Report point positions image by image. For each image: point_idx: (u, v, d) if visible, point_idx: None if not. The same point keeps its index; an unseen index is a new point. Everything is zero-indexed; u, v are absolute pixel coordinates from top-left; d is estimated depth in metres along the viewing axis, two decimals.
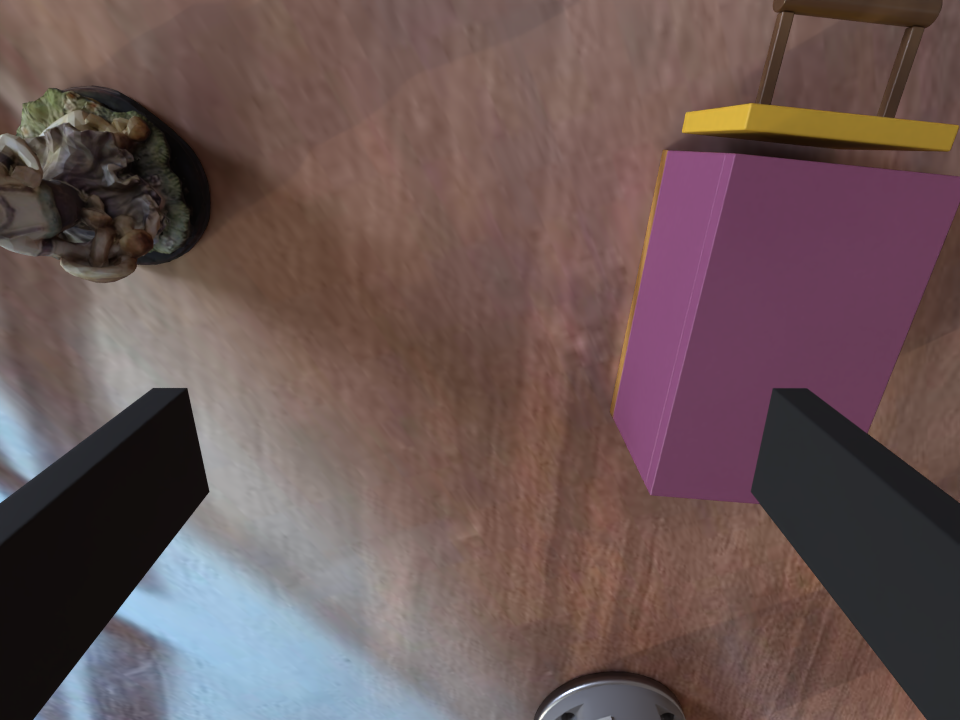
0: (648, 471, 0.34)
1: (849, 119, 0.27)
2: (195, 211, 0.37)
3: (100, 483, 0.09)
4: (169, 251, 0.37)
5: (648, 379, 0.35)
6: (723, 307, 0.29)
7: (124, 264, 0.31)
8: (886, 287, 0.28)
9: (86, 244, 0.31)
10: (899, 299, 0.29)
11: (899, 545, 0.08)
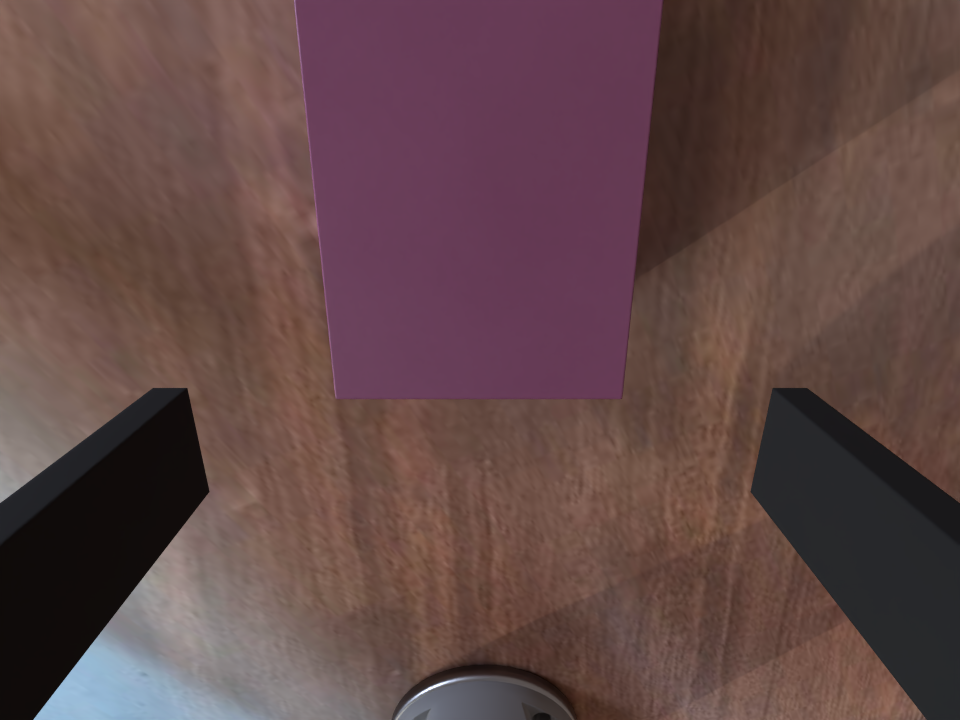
0: None
1: None
2: None
3: (100, 483, 0.09)
4: None
5: None
6: (343, 66, 0.18)
7: None
8: None
9: None
10: (624, 19, 0.17)
11: (899, 545, 0.08)
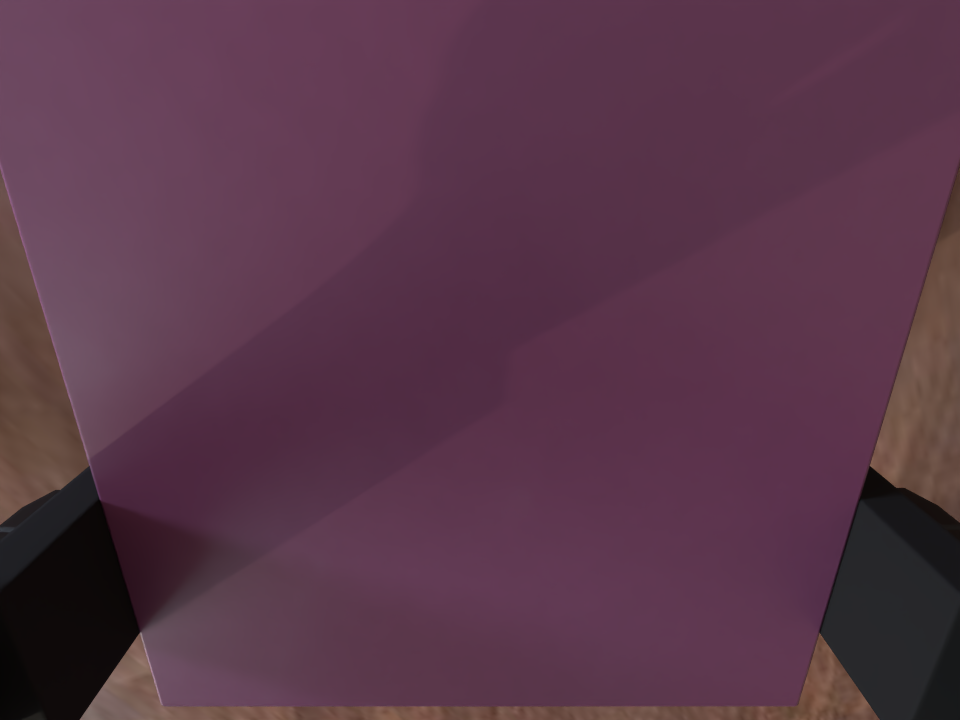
0: None
1: None
2: None
3: None
4: None
5: None
6: None
7: None
8: None
9: None
10: None
11: None
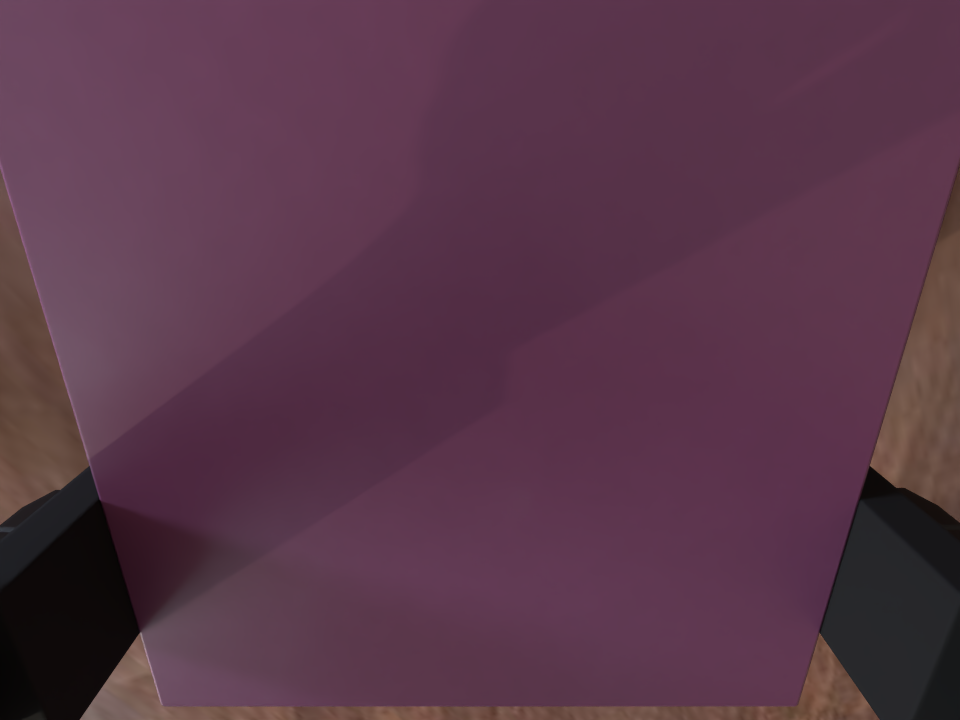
0: None
1: None
2: None
3: None
4: None
5: None
6: None
7: None
8: None
9: None
10: None
11: None
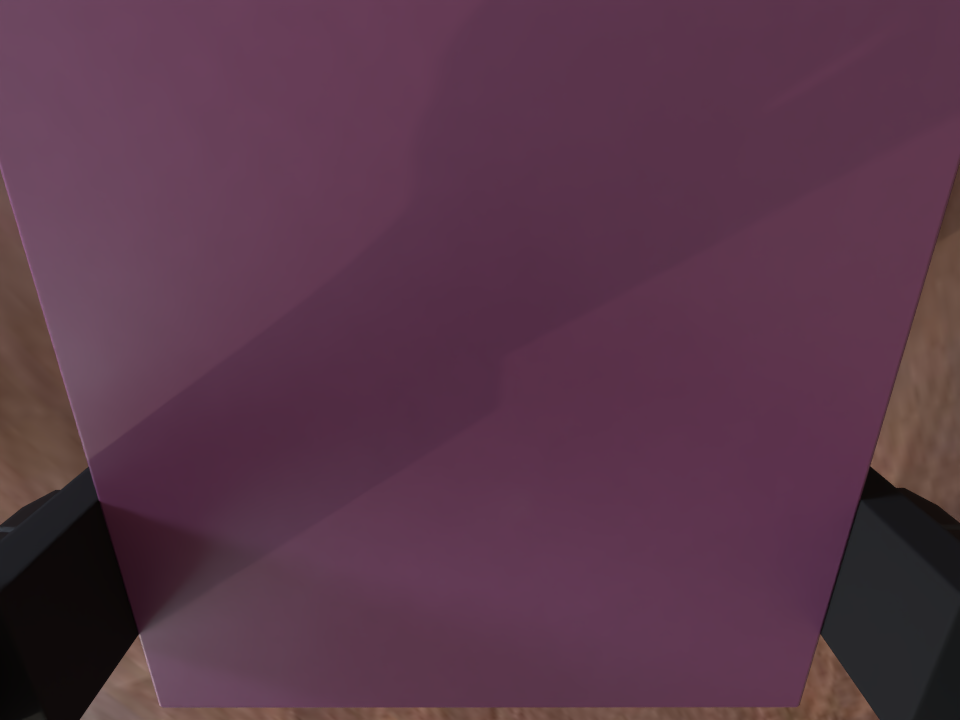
0: None
1: None
2: None
3: None
4: None
5: None
6: None
7: None
8: None
9: None
10: None
11: None
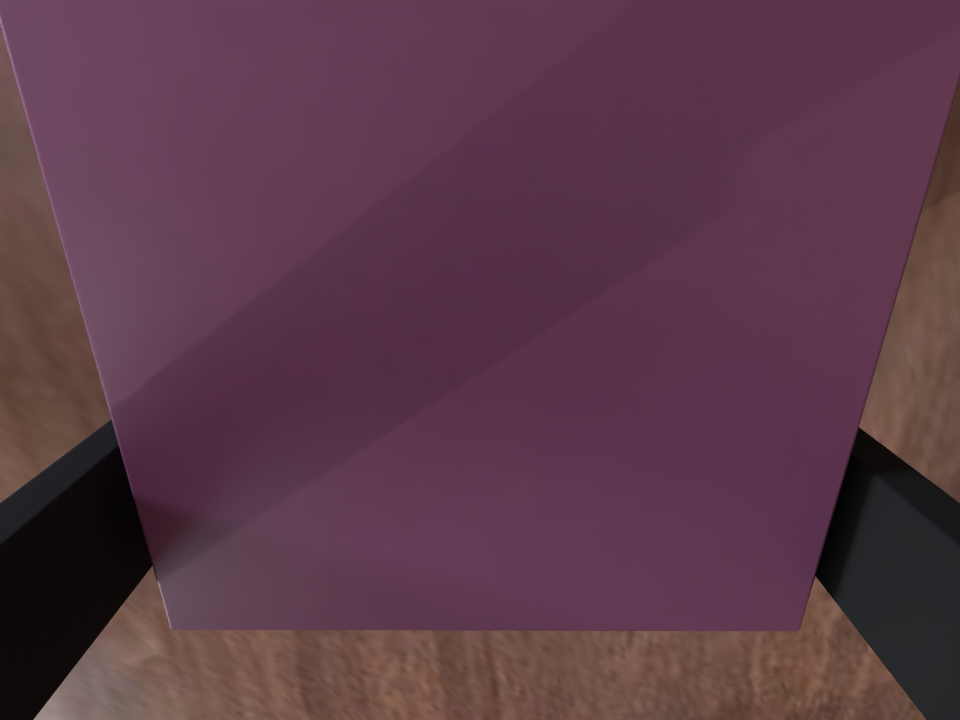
0: None
1: None
2: None
3: (100, 483, 0.09)
4: None
5: None
6: None
7: None
8: None
9: None
10: None
11: (899, 545, 0.08)
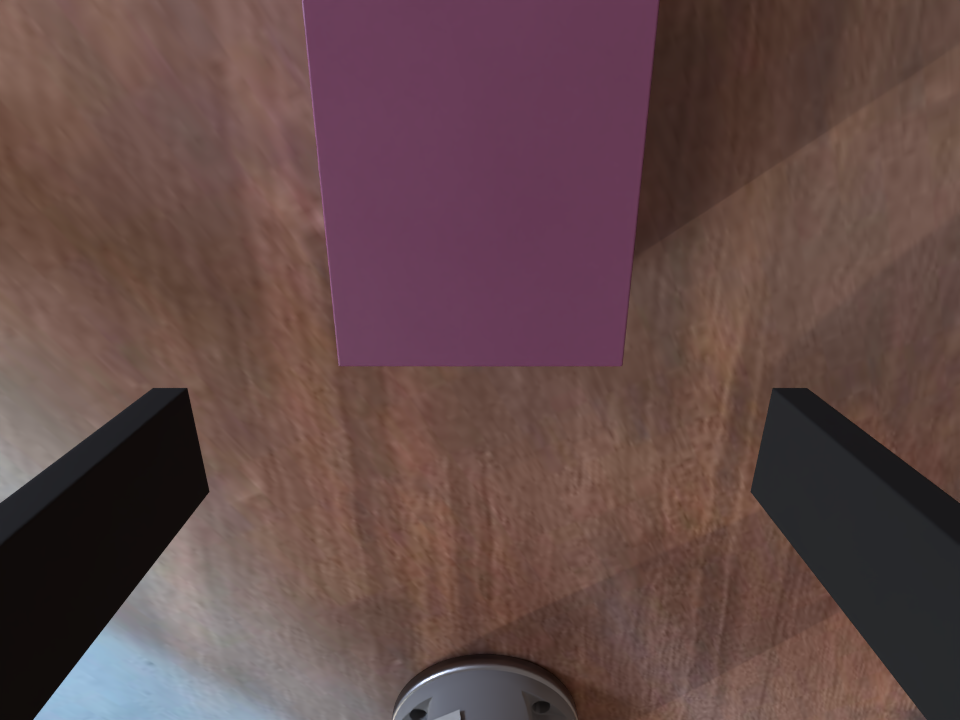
0: None
1: None
2: None
3: (100, 483, 0.09)
4: None
5: None
6: (346, 30, 0.18)
7: None
8: None
9: None
10: None
11: (899, 545, 0.08)
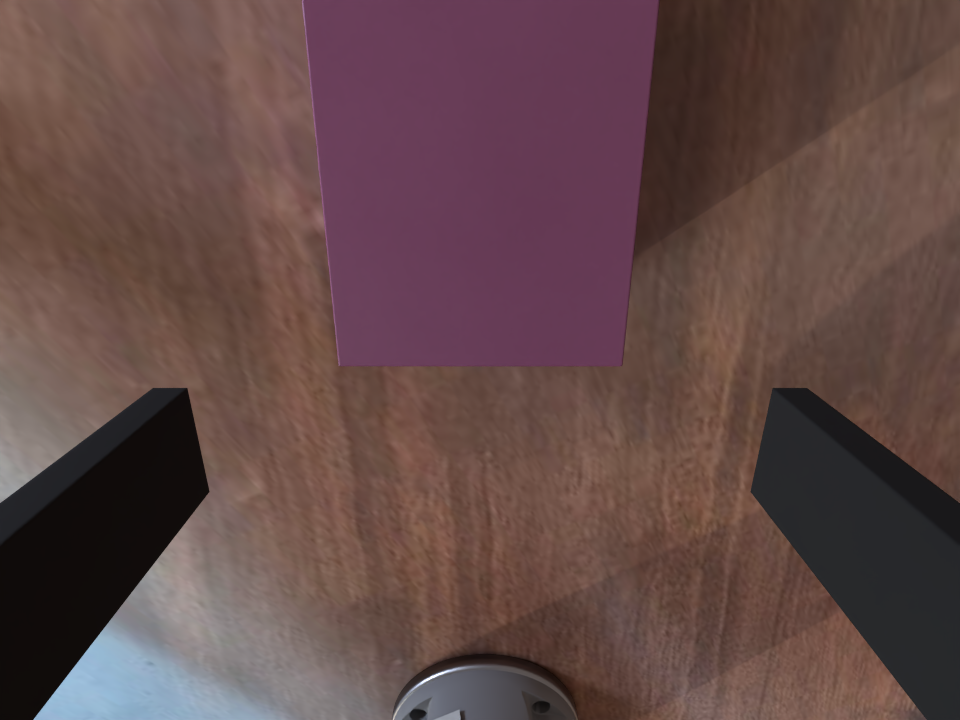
0: None
1: None
2: None
3: (100, 483, 0.09)
4: None
5: None
6: (346, 30, 0.18)
7: None
8: None
9: None
10: None
11: (899, 545, 0.08)
